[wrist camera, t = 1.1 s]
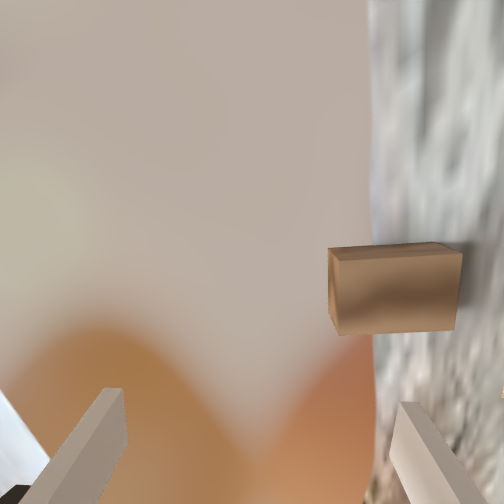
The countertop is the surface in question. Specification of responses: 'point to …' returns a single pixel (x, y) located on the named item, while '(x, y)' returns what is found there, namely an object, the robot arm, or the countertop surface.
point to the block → (393, 288)
